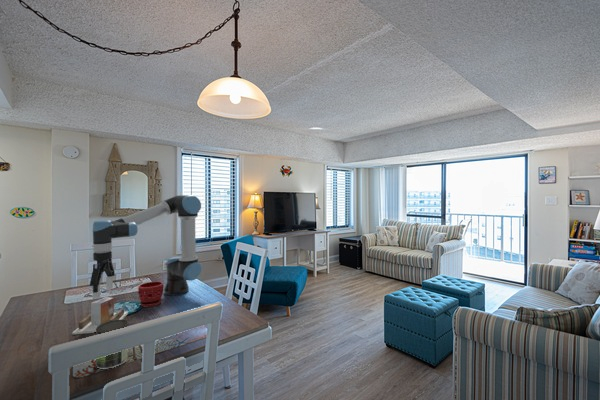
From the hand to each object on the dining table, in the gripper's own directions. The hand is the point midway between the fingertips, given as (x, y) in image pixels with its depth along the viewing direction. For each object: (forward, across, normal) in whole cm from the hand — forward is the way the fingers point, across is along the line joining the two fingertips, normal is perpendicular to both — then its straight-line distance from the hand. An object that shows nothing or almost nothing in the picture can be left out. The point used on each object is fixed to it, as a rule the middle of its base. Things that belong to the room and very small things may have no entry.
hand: (103, 293), depth 138 cm
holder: (+15, 0, 0) cm, 15 cm away
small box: (+14, 0, 0) cm, 14 cm away
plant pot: (+16, -22, +16) cm, 31 cm away
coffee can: (+15, +37, +19) cm, 44 cm away
